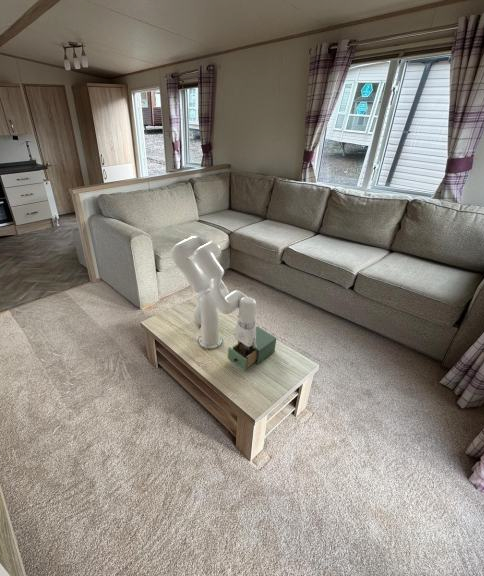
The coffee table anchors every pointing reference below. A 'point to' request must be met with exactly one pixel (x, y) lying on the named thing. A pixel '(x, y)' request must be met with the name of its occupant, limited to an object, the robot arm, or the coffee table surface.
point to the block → (242, 348)
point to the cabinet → (264, 344)
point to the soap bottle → (197, 310)
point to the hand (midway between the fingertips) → (244, 351)
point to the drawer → (242, 357)
